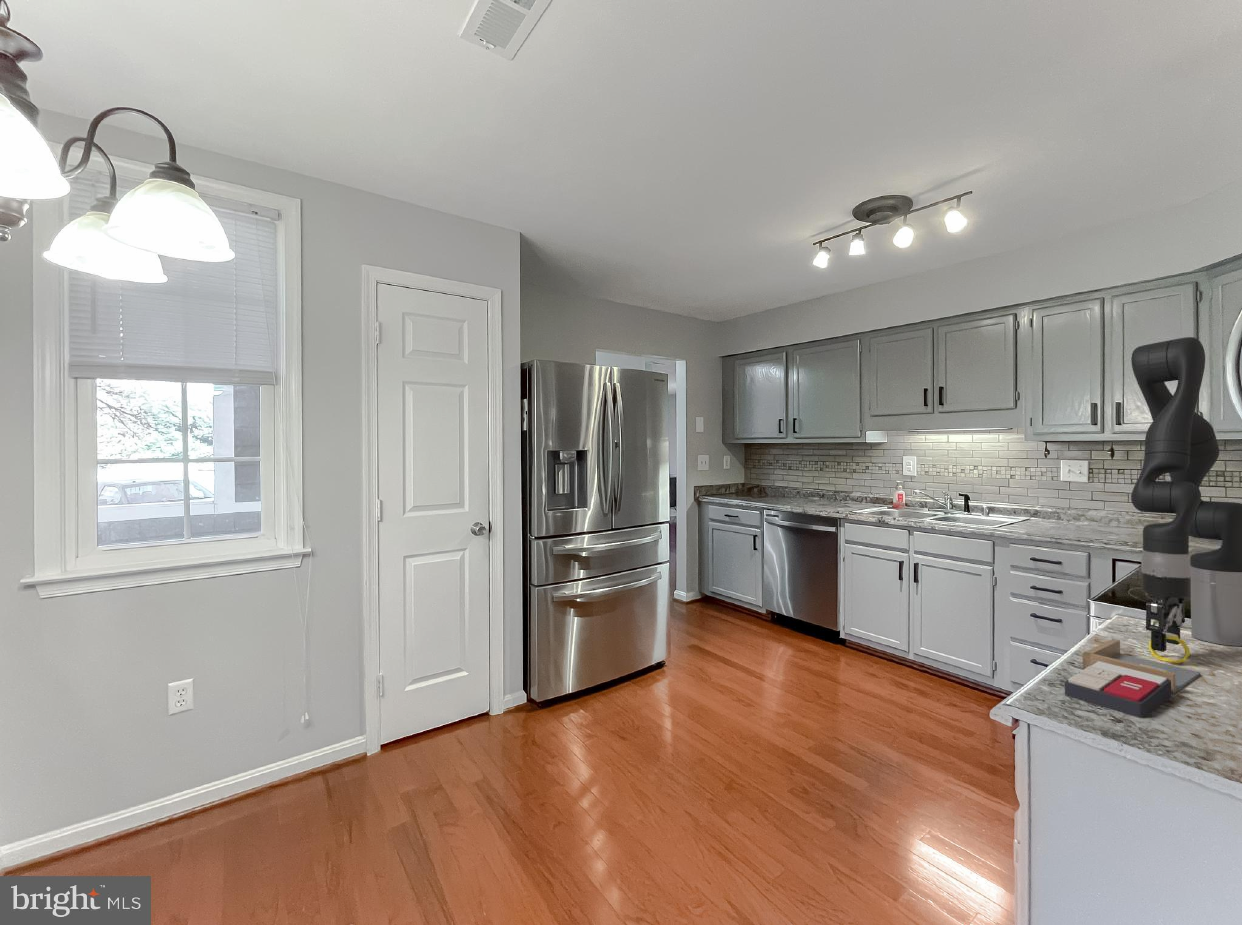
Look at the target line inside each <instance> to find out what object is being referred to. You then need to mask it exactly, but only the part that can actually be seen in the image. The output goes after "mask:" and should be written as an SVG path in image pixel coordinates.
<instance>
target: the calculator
mask: <svg viewBox="0 0 1242 925" xmlns="http://www.w3.org/2000/svg"><path fill="white" fill-rule="evenodd" d="M1064 695H1065V696H1066V697H1070V698H1072V699H1076V700H1079V701H1083V702H1086V703H1089V704H1092V705H1096V706H1099V707H1103V708H1106V709H1109V710H1113V711H1115V712H1119V713H1122V714H1125V715H1129V716H1132V717H1136V718H1139V719H1144V718H1146V717H1147V716H1148V715H1150V714H1151V713H1153V712H1154V711H1156V709H1157V708H1158V707H1160V706H1161V705H1162V704H1165V703H1167V702H1168V701H1170V700H1171V699H1172V697H1173V696H1172V693H1171V680H1169V679H1167V678H1165V677H1161V676H1157V675H1153V674H1149V673H1145V672H1141V671H1137V670H1133V669H1129V668H1125V667H1120V666H1116V665H1112V664H1108V663H1104V662H1100V661H1098V662H1095V663H1094V664H1092V665H1090V666H1088V667H1087V668H1085V669H1084V670H1083V669H1082V670H1080V671H1079V672H1078V673H1076V674H1074V675H1072V676H1071V677H1070V678H1068V679H1066V680H1065V681H1064Z"/></svg>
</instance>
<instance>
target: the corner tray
mask: <svg viewBox="0 0 1242 925" xmlns="http://www.w3.org/2000/svg"><path fill="white" fill-rule="evenodd" d="M1098 661H1100V662H1104V663H1108V664H1112V665H1116V666H1120V667H1125V668H1129V669H1133V670H1137V671H1141V672H1145V673H1149V674H1153V675H1157V676H1161V677H1165V678H1167V679H1169V680H1171V695H1172V694H1176V693H1177V692H1178V691H1180V690H1181V689H1183V688H1184V687H1186V685H1188V684H1190V683H1191V682H1192V681H1194V680H1195V679H1197V678H1198V677H1200V676H1201V672H1200V671H1198V670H1193V669H1190V668H1189V669H1188V668H1184V667H1180V666H1175V665H1172V664H1168V663H1167V664H1166V663H1162V662H1157V661H1155V660H1149V659H1145V658H1142V657H1138V656H1137V657H1136V656H1131V655H1128V654H1123V653H1121V640H1120V639H1117V638H1111V639H1109V640H1107V641H1105V642H1103V643H1101V644H1098V645H1096V646H1095V647H1092V648H1090V649H1088V650H1085V651H1083V652H1082V670H1084V669H1085V668H1087V667H1088V666H1090V665H1092V664H1094V663H1095V662H1098Z"/></svg>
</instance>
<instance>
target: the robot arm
mask: <svg viewBox="0 0 1242 925" xmlns="http://www.w3.org/2000/svg"><path fill="white" fill-rule="evenodd" d="M1130 361H1131V368H1132V371H1133V376H1134V377H1135V380H1136V382H1137V385H1138V387H1139V389H1140V392H1141V393H1142V395H1143V398H1144V400H1145V402H1146V405H1147V407H1148V410H1149V412H1150V416H1151V419H1152V422H1151V424H1149V426H1148V428H1147V431H1146V434H1145V438H1144V456H1143V457H1144V458H1143V463H1142V468H1141V469H1140V473H1139V476H1138V478H1137V480H1136V482H1135V484H1134V486H1133V489H1132V491H1131V494H1130V499H1131V500H1130V501H1131V504H1132V506H1133V507H1134V508H1135V509H1136V510H1138V511H1139V512H1140V513H1141V512H1142V513H1152V514H1173V515H1174V514H1175V517H1174V519H1173V520H1171V521H1168V522H1161V523H1149V524H1146V525H1145V526H1143V529H1142V554H1141V555H1142V556H1141V565H1140V567H1141V574H1140V575H1141V578H1140V581H1141V591H1142V592H1144V593H1145V594H1148V595H1152V596H1153V599H1152V601H1150V602H1149V601H1147V602H1146V603H1145V630H1146V631H1149V632H1150V640H1151V648H1152V649H1153V650H1155V651H1156V652H1157V651H1158V652H1162V653H1164V652H1166V651H1167V643H1168V644H1172V645H1181V644H1180V643H1179V642H1177V641H1176V640H1172V639H1166V633H1171V634H1175V635H1177V636H1178V638H1179V639H1181V628H1182V627H1183V624H1185V622H1186V617H1185V615H1186V613H1185V612H1186V610H1185V599H1187V598H1190V624H1191V625H1190V626H1191V627H1190V632H1191V634H1190V635H1191V637H1193V638H1195V639H1198V640H1201V641H1204V642H1208V643H1212V644H1213V643H1214V644H1217V645H1222V646H1223V645H1224V646H1233V647H1242V503H1241V502H1234V501H1231V502H1230V501H1215V500H1214V501H1212V500H1211V501H1210V500H1203V499H1202V492H1201V490H1200V486H1201V484H1202V483H1203V480H1204V479H1205V477H1206V476H1207V474H1209V472H1210V471H1211V469H1212V468H1213V467H1214V465H1215V464H1216V462H1217V461H1218V459H1219V456H1220V447H1219V446H1220V445H1219V442H1218V440H1217V437H1216V434H1215V433H1216V432H1215V430H1214V427H1213V425H1212V424H1211V423H1210V422H1209V421H1208V420H1207V419H1205V418H1204V417H1203V416H1202V415H1201V414H1199V413H1198V412H1196V409H1197V408H1196V407H1197V404H1198V401H1199V396H1200V392H1201V387H1202V382H1203V377H1204V373H1205V367H1206V366H1205V365H1206V352H1205V349H1204V346H1203V344H1202V342H1201V341H1200V340H1199V339H1198V338H1197V337H1193V336H1187V337H1180V338H1174V339H1170V340H1164V341H1158V342H1153V343H1148V344H1144V345H1140V346H1137V347H1136V348H1134V350H1133V351H1132V353H1131V360H1130ZM1175 381H1177V385H1176V389H1175V391H1174V393H1173V394H1172V392H1171V391H1170V389H1169V388H1168V386H1167V384H1166V383H1167V382H1175ZM1165 474H1168V475H1169V478H1170V480H1158V478H1160V477H1161V476H1163V475H1165ZM1190 537H1191V538H1195V539H1203V540H1212V541H1213V540H1214V541H1222V542H1221V545H1220V547H1219V548H1216V549H1215V550H1211V551H1205V552H1197V553H1194V554H1191V556H1190V551H1189V549H1190V548H1189V547H1190V545H1189V543H1190ZM1157 624H1158V626H1157Z"/></svg>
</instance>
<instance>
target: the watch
mask: <svg viewBox="0 0 1242 925" xmlns="http://www.w3.org/2000/svg"><path fill="white" fill-rule="evenodd" d="M1166 639H1172V640H1176V641H1177V642H1179V643H1180V644H1179V645H1180V646H1181V647H1183V649H1184V654H1185V655H1184V657H1183V658H1181V659H1179V660H1175V659H1171V658H1166V657H1162V656H1161V655H1160V654H1158V653H1157V650H1153V649H1152V648H1151V639H1150V640H1149V643H1148V648H1149V649H1148V650H1150V652H1151V654H1152V655H1153V657H1155V658H1156V659H1157V660H1158V661H1159V660H1160V661H1163V662H1169V663H1172V664H1175V665H1176V664H1178V665H1179V664H1180V663H1181V664H1182V663H1183V662H1185V661H1186V660H1187V659H1188V658H1189V656H1190V648H1189V646H1188V645H1187V644H1186V643H1185V641H1184V640H1182V639H1181V638H1180V639H1179V638H1178V636H1177V635H1175V634H1171V633H1166Z"/></svg>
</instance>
